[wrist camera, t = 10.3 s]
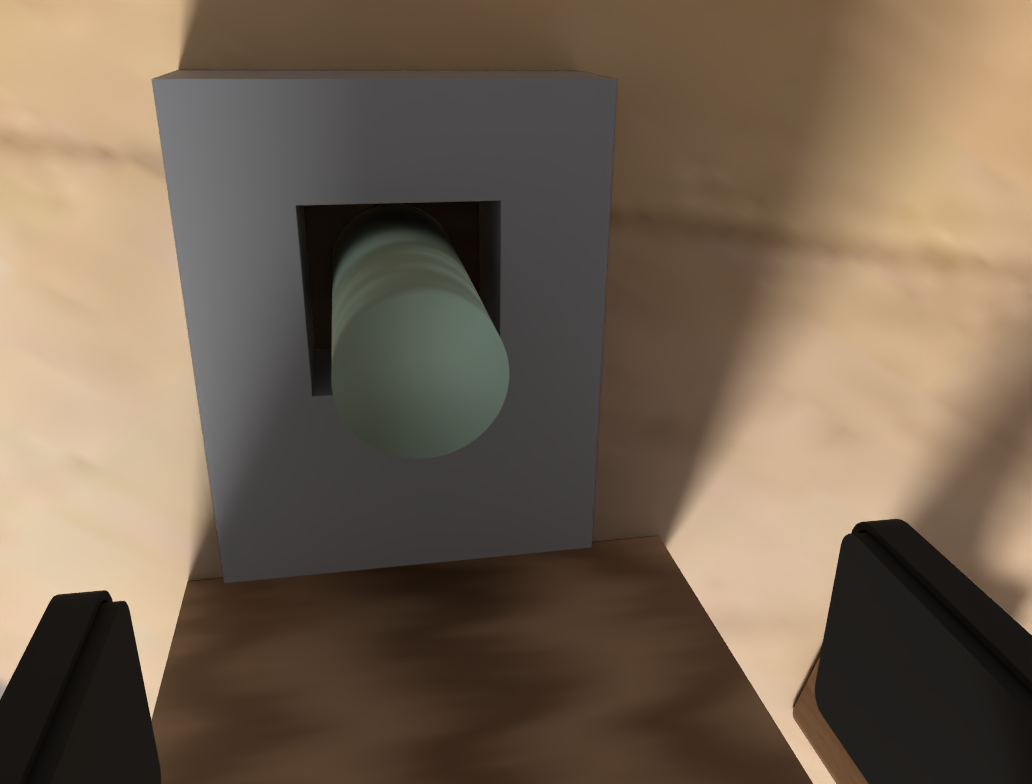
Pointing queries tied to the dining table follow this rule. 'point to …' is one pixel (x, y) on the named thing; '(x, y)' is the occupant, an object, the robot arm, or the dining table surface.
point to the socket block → (307, 372)
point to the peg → (411, 337)
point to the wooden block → (824, 736)
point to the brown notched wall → (464, 678)
